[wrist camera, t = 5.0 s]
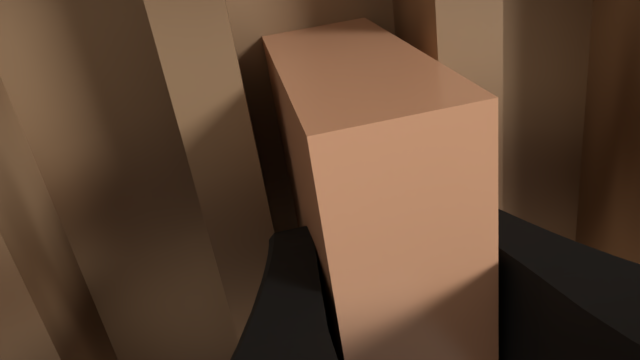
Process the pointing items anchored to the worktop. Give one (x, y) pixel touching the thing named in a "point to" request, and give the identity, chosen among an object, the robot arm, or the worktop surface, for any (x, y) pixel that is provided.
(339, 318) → the tile
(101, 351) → the rack
